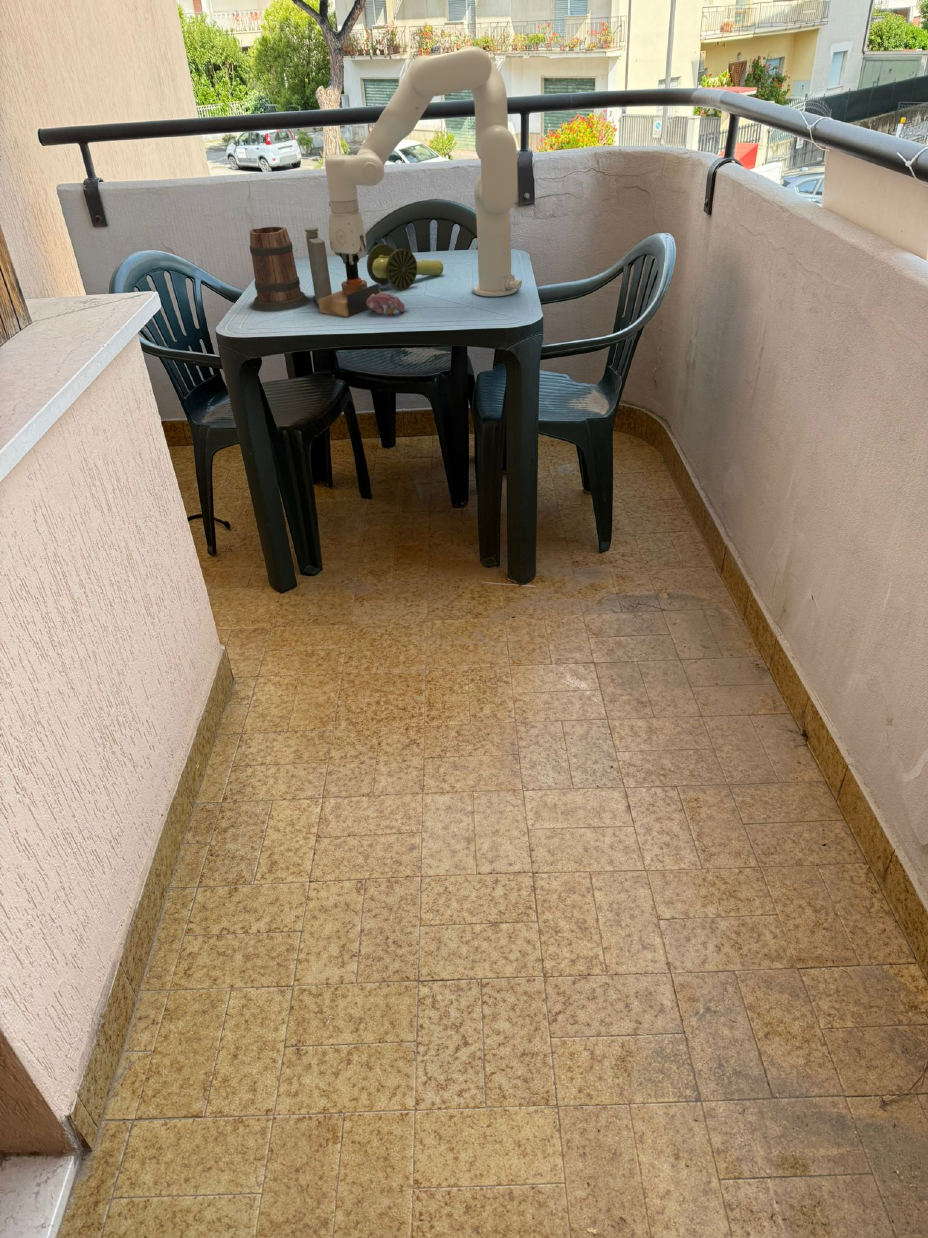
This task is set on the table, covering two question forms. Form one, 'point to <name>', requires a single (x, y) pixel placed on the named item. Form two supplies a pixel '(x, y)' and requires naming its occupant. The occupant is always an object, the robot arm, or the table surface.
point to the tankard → (275, 270)
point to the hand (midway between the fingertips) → (352, 277)
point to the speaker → (340, 299)
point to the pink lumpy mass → (385, 303)
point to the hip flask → (318, 264)
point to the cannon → (398, 266)
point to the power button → (354, 281)
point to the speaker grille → (360, 298)
